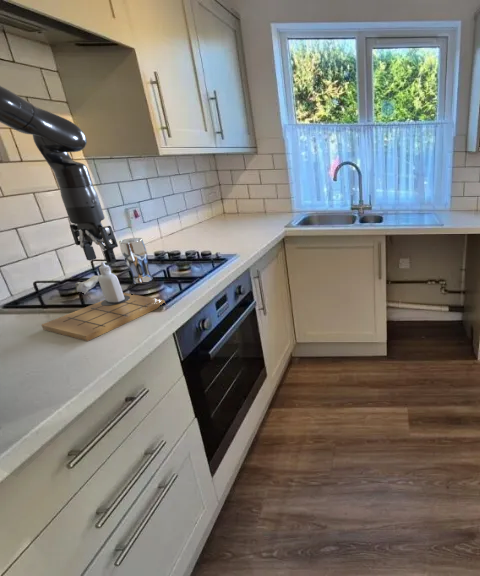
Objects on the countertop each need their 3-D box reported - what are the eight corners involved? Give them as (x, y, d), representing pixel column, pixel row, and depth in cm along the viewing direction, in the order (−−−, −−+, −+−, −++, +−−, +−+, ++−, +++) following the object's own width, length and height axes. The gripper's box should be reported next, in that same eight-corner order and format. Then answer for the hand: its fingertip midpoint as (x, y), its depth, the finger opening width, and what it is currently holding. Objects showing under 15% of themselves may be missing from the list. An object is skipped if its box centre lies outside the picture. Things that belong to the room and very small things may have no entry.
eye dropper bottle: (122, 295, 111) (109, 258, 106) (125, 300, 107) (112, 262, 102) (105, 299, 108) (91, 261, 104) (108, 305, 104) (94, 266, 100)
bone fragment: (102, 282, 126) (99, 272, 125) (89, 294, 116) (85, 284, 115) (87, 284, 125) (83, 274, 124) (72, 296, 115) (68, 286, 114)
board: (87, 341, 89) (85, 335, 88) (43, 329, 95) (40, 324, 95) (165, 304, 108) (164, 299, 107) (124, 296, 114) (122, 292, 113)
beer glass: (126, 284, 123) (112, 242, 118) (144, 277, 130) (132, 236, 124) (141, 286, 121) (128, 243, 116) (159, 279, 127) (147, 238, 122)
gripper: (49, 205, 96) (71, 262, 102) (84, 207, 91) (105, 267, 97) (80, 200, 102) (99, 255, 109) (114, 202, 97) (131, 259, 104)
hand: (101, 261), depth 103 cm, fingers open, 8 cm apart
